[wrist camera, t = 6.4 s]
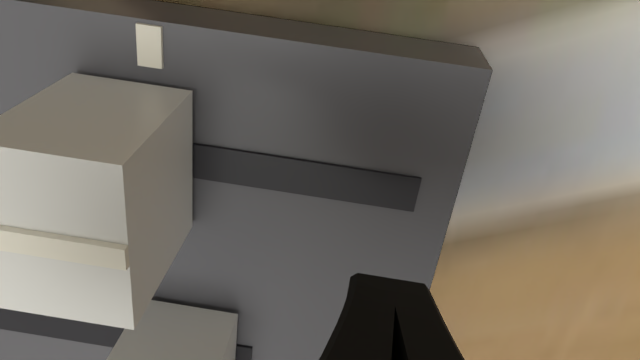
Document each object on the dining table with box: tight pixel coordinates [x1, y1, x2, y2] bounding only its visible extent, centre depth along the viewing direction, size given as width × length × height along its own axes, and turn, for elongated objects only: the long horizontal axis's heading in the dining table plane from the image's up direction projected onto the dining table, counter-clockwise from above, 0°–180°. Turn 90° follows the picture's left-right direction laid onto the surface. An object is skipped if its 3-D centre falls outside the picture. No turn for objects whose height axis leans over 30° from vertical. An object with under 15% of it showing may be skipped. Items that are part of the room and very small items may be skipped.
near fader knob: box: [0, 73, 192, 330], centre depth 12 cm, size 3×4×4 cm
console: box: [0, 0, 493, 360], centre depth 17 cm, size 17×14×2 cm
